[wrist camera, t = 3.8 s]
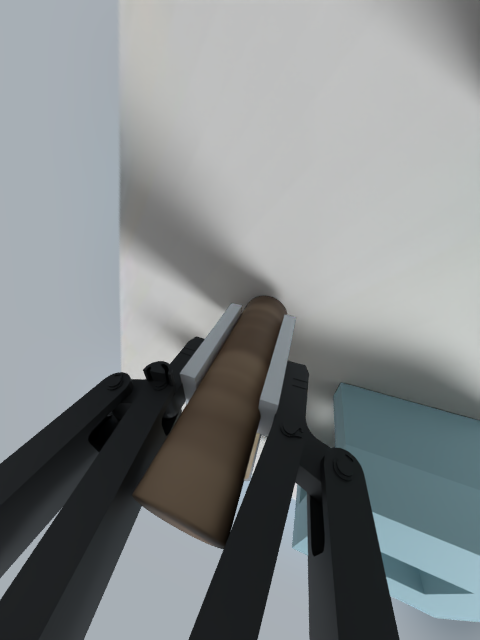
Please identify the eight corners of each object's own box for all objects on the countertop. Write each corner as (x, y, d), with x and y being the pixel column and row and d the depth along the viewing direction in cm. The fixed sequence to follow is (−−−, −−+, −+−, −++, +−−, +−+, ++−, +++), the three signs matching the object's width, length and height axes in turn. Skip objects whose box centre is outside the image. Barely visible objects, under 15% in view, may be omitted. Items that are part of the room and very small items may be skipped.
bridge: (340, 382, 17) (350, 503, 10) (527, 434, 14) (692, 642, 8) (299, 460, 26) (292, 547, 20) (405, 500, 23) (435, 617, 17)
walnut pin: (247, 292, 15) (118, 482, 6) (290, 300, 14) (225, 538, 5) (244, 326, 17) (145, 511, 7) (283, 335, 16) (226, 554, 7)
